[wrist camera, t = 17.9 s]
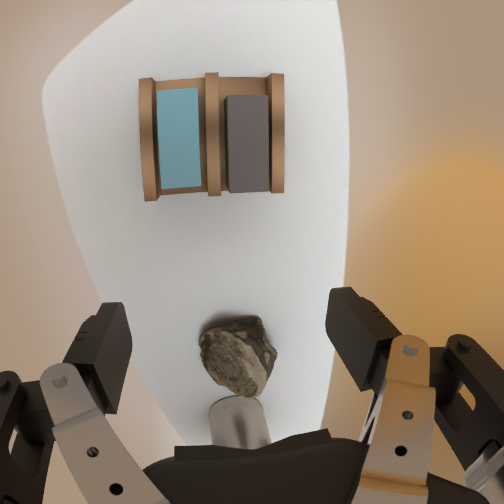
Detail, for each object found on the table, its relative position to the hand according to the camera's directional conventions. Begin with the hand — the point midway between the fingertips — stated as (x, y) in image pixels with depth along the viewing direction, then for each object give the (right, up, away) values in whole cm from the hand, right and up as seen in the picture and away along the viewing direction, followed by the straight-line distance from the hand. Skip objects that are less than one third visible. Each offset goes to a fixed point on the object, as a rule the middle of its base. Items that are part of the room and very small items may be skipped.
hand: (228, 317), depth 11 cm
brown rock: (-2, -10, +29) cm, 30 cm away
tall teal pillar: (-6, +14, +16) cm, 22 cm away
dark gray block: (0, +14, +18) cm, 22 cm away
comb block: (-3, +15, +18) cm, 23 cm away
